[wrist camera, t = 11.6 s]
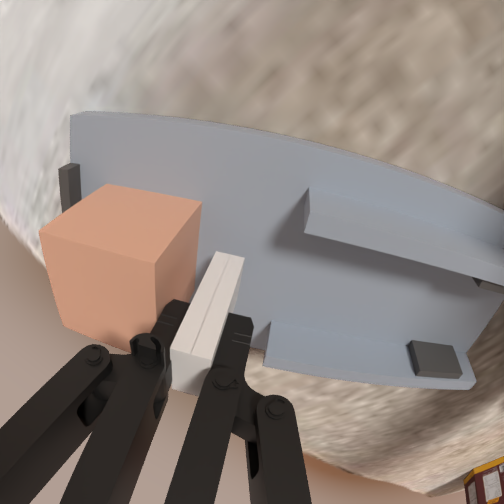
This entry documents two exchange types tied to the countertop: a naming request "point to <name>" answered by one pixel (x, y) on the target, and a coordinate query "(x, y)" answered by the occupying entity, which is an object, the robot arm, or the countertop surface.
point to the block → (121, 260)
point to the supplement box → (486, 483)
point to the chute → (317, 243)
